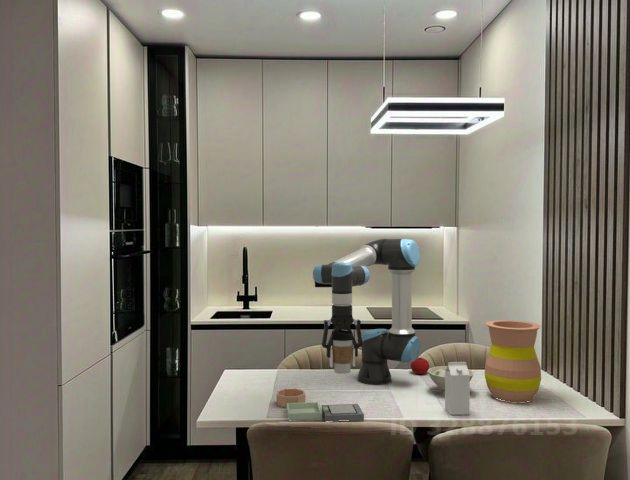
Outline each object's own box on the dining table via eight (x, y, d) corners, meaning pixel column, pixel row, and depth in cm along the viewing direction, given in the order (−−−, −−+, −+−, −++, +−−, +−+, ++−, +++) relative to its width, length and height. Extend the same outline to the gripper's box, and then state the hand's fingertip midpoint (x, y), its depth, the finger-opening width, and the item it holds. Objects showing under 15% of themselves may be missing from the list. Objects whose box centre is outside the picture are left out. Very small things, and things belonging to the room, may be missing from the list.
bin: (303, 398, 228) (303, 388, 228) (306, 407, 217) (306, 396, 216) (276, 399, 226) (276, 389, 226) (277, 408, 215) (277, 397, 215)
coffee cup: (338, 367, 212) (338, 328, 212) (357, 370, 207) (357, 330, 207) (326, 372, 205) (326, 332, 205) (346, 376, 200) (346, 334, 200)
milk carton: (444, 409, 214) (445, 360, 214) (462, 408, 215) (463, 359, 214) (450, 415, 207) (451, 364, 207) (469, 414, 208) (469, 364, 207)
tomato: (410, 370, 271) (410, 354, 271) (428, 371, 270) (428, 355, 270) (410, 375, 262) (410, 358, 262) (429, 376, 261) (430, 359, 261)
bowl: (466, 402, 222) (466, 377, 222) (420, 394, 232) (420, 371, 232) (479, 390, 239) (479, 367, 238) (436, 383, 249) (436, 361, 249)
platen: (352, 407, 211) (352, 404, 211) (356, 415, 202) (356, 412, 202) (328, 408, 210) (328, 405, 210) (331, 416, 202) (331, 413, 201)
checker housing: (357, 410, 213) (357, 402, 213) (363, 421, 201) (363, 412, 201) (321, 411, 212) (321, 403, 212) (325, 422, 200) (325, 414, 200)
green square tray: (318, 408, 215) (318, 402, 215) (322, 419, 203) (321, 412, 203) (286, 410, 213) (286, 403, 213) (288, 421, 201) (288, 413, 201)
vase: (482, 402, 222) (483, 327, 222) (485, 387, 243) (486, 318, 242) (542, 408, 215) (542, 331, 214) (540, 392, 236) (540, 321, 235)
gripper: (367, 302, 210) (367, 362, 211) (313, 303, 208) (313, 364, 209) (371, 305, 203) (371, 367, 203) (315, 306, 201) (315, 369, 201)
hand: (342, 365), depth 206 cm, fingers closed on coffee cup, 8 cm apart
